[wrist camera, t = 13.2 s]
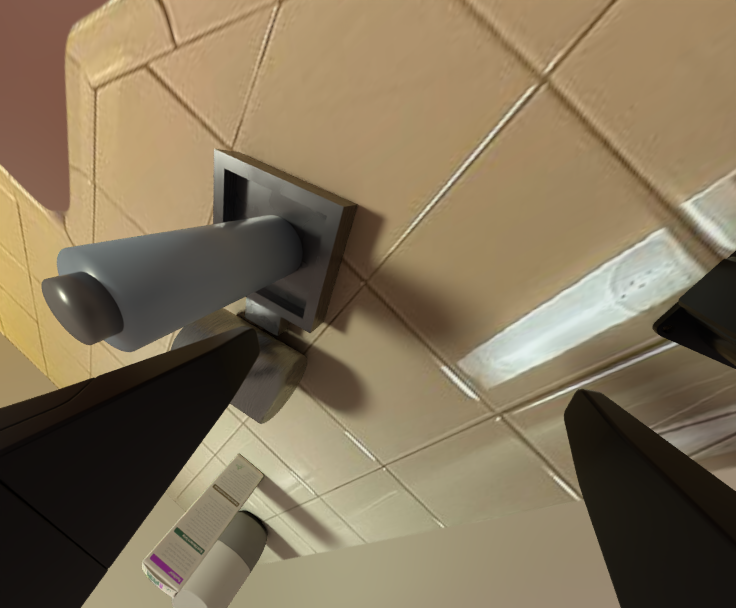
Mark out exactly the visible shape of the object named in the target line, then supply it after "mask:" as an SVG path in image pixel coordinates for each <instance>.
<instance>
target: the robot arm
mask: <svg viewBox="0 0 736 608" xmlns="http://www.w3.org/2000/svg"><path fill="white" fill-rule="evenodd" d="M668 325H671V327H670V328H669V329H667V330H662V329H663V328H664V327H665V326H668ZM653 330H654V331H655V332H656V333H657V334H659V335H660V336H662V337H664V338H666V339H668V340H671V341H673V342H675V343H678V344H680V345H682V346H684V347H687V348H689V349H691V350H694V351H696V352H698V353H700V354H703V355H705V356H707V357H709V358H712V359H714V360H716V361H719V362H721V363H723V364H725V365H728V366H730V367H732V368H734V369H736V251H735V252H734V253H733V254H731V255H730V256H729V257H728V258H727V259H724V260H722V261H721V262H720V263H719V264H718V265H717V266H715V267H714V268H713V269H712V270H711V271H710V272H709V273H708V274H706V275H705V276H704V277H703V278H702V279H701V280H700V281H699V282H697V283H696V284H695V285H694V286H693V287H692V288H691V289H689V290H688V291H687V292H686V293H685V294H684V295H683V296H682V297H680V298H679V301H678V302H677V303H676V304H675V305H674V306H673V307H671V308H670V309H669V310H668V311H667V312H666V313H665V314H664V315H662V316H661V317H660V318H659V319H658V320H657V321H656V322H655V323H654V324H653ZM259 354H260V345H259V340H258V336H257V332H256V330H255V329H254V328H251V327H246V326H241V327H238V328H235V329H232V330H229V331H226V332H223V333H220V334H218V335H215V336H212V337H209V338H206V339H203V340H200V341H197V342H194V343H192V344H189V345H186V346H183V347H180V348H177V349H174V350H171V351H169V352H166V353H163V354H160V355H157V356H154V357H151V358H148V359H146V360H143V361H140V362H137V363H134V364H131V365H128V366H125V367H122V368H120V369H117V370H114V371H111V372H108V373H105V374H102V375H99V376H97V377H96V378H91V379H88V380H85V381H82V382H79V383H76V384H73V385H70V386H67V387H64V388H61V389H58V390H56V391H53V392H50V393H47V394H44V395H41V396H37V397H34V398H31V399H28V400H25V401H22V402H18V403H15V404H12V405H9V406H6V407H3V408H0V608H81V607H82V605H83V604H84V602H85V601H86V600H87V598H88V597H89V596H90V594H91V593H92V592H93V590H94V589H95V587H96V586H97V585H98V583H99V582H100V581H101V579H102V578H103V577H104V575H105V574H106V572H107V571H108V568H110V566H111V565H112V564H113V562H114V561H115V560H116V558H117V557H118V556H119V554H120V553H121V551H122V550H123V549H124V547H125V546H126V545H127V543H128V542H129V541H130V539H131V538H132V537H133V535H134V534H135V532H136V531H137V530H138V528H139V527H140V526H141V524H142V523H143V521H144V520H145V519H146V517H147V516H148V515H149V513H150V512H151V511H152V509H153V508H154V506H155V505H156V504H157V502H158V501H159V500H160V498H161V497H162V495H163V494H164V493H165V491H166V490H167V489H168V487H169V486H170V485H171V483H172V482H173V480H174V479H175V478H176V476H177V475H178V474H179V472H180V471H181V470H182V468H183V467H184V465H185V464H186V463H187V461H188V460H189V459H190V457H191V456H192V454H193V453H194V452H195V450H196V449H197V448H198V446H199V445H200V444H201V442H202V441H203V439H204V438H205V437H206V435H207V434H208V433H209V431H210V430H211V428H212V427H213V426H214V424H215V423H216V422H217V420H218V419H219V418H220V416H221V415H222V413H223V412H224V411H225V409H226V408H227V407H228V405H229V404H230V402H231V401H232V400H233V398H234V397H235V395H236V393H237V392H238V390H239V389H240V387H241V385H242V384H243V382H244V380H245V378H246V377H247V375H248V373H249V372H250V370H251V368H252V367H253V365H254V363H255V362H256V360H257V358H258V357H259ZM564 422H565V426H566V431H567V435H568V439H569V444H570V448H571V453H572V457H573V461H574V466H575V470H576V474H577V478H578V482H579V486H580V489H581V492H582V495H583V498H584V501H585V504H586V507H587V510H588V513H589V516H590V519H591V522H592V525H593V528H594V530H595V533H596V536H597V539H598V542H599V545H600V548H601V551H602V554H603V557H604V560H605V563H606V565H607V569H608V571H609V574H610V577H611V580H612V583H613V586H614V589H615V592H616V595H617V598H618V601H619V604H620V607H621V608H736V491H735V490H733V489H732V488H730V487H729V486H728V485H726V484H725V483H724V482H722V481H721V480H719V479H718V478H717V477H715V476H714V475H712V474H711V473H710V472H709V471H707V470H706V469H704V468H703V467H702V466H700V465H699V464H698V463H696V462H695V461H694V460H692V459H691V458H689V457H688V456H687V455H685V454H684V453H683V452H681V451H680V450H679V449H677V448H676V447H674V446H673V445H672V444H670V443H669V442H668V441H666V440H665V439H664V438H662V437H661V436H659V435H658V434H657V433H655V432H654V431H653V430H651V429H650V428H649V427H647V426H646V425H644V424H643V423H642V422H640V421H639V420H638V419H636V418H635V417H634V416H632V415H631V414H629V413H628V412H627V411H625V410H624V409H623V408H621V407H620V406H619V405H617V404H616V403H614V402H613V401H612V400H610V399H609V398H608V397H606V396H605V395H604V394H602V393H600V392H597V391H592V390H587V389H579V390H577V391H576V392H575V394H574V396H573V397H572V399H571V401H570V403H569V404H568V406H567V408H566V410H565V413H564Z"/></svg>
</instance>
